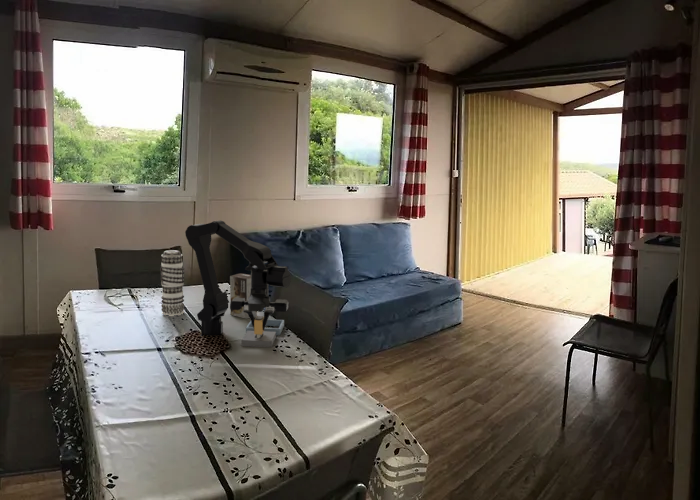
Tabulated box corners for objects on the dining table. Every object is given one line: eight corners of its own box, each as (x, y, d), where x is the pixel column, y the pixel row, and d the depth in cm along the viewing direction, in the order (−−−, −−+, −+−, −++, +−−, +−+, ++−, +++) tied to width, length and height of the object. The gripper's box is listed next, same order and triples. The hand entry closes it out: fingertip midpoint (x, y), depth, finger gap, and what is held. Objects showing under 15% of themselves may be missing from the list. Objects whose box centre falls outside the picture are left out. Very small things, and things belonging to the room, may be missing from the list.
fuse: (254, 340, 180) (254, 319, 179) (256, 336, 184) (256, 315, 183) (261, 340, 180) (262, 319, 179) (264, 336, 184) (264, 315, 183)
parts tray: (245, 336, 190) (245, 327, 189) (251, 326, 201) (251, 318, 200) (279, 337, 190) (280, 329, 189) (284, 327, 201) (284, 320, 200)
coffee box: (257, 315, 215) (258, 275, 213) (246, 319, 210) (246, 278, 207) (241, 311, 220) (241, 272, 218) (229, 314, 215) (229, 275, 212)
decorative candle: (156, 315, 210) (154, 252, 206) (167, 309, 219) (166, 248, 215) (178, 317, 209) (177, 253, 205) (189, 311, 218) (188, 250, 214)
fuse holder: (241, 348, 177) (241, 340, 177) (247, 338, 187) (247, 330, 187) (271, 349, 177) (271, 341, 177) (276, 339, 187) (276, 331, 187)
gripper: (225, 288, 171) (225, 336, 174) (284, 290, 171) (283, 338, 174) (233, 281, 182) (233, 325, 185) (288, 283, 182) (288, 327, 185)
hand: (259, 329), depth 182 cm, fingers closed on fuse, 3 cm apart
